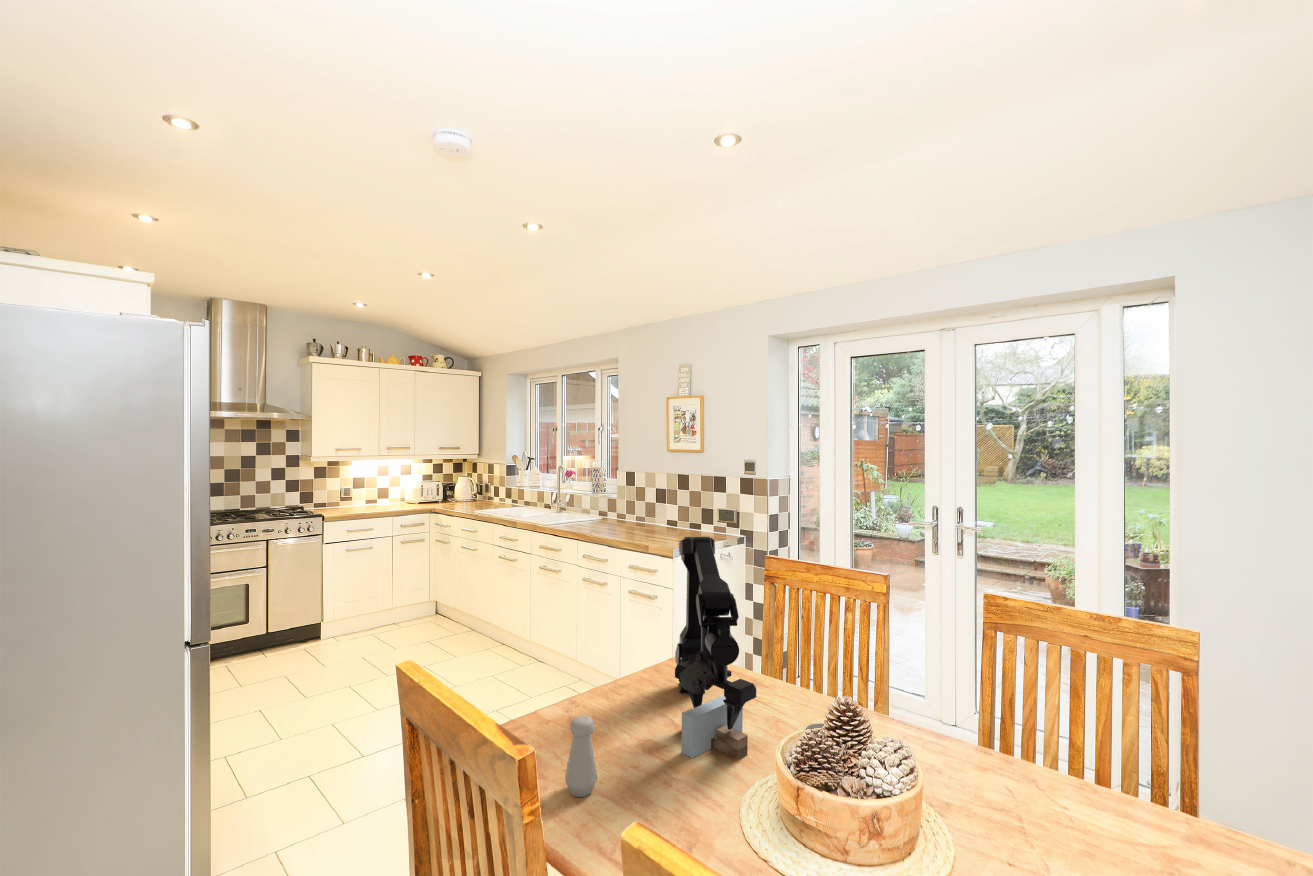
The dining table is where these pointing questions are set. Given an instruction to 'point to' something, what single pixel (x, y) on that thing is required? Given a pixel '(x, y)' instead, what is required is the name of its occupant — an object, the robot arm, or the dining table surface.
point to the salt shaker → (581, 758)
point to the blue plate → (704, 726)
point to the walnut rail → (730, 742)
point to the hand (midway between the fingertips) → (713, 720)
